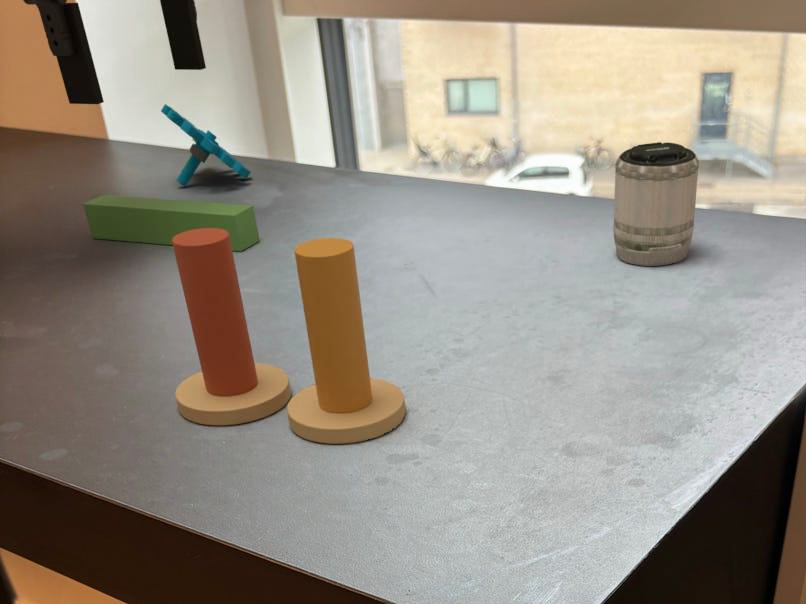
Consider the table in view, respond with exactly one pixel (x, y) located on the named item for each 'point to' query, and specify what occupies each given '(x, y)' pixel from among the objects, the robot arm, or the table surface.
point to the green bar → (167, 219)
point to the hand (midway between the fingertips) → (141, 85)
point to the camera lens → (654, 203)
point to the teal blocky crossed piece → (201, 148)
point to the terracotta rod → (221, 338)
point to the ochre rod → (338, 353)
